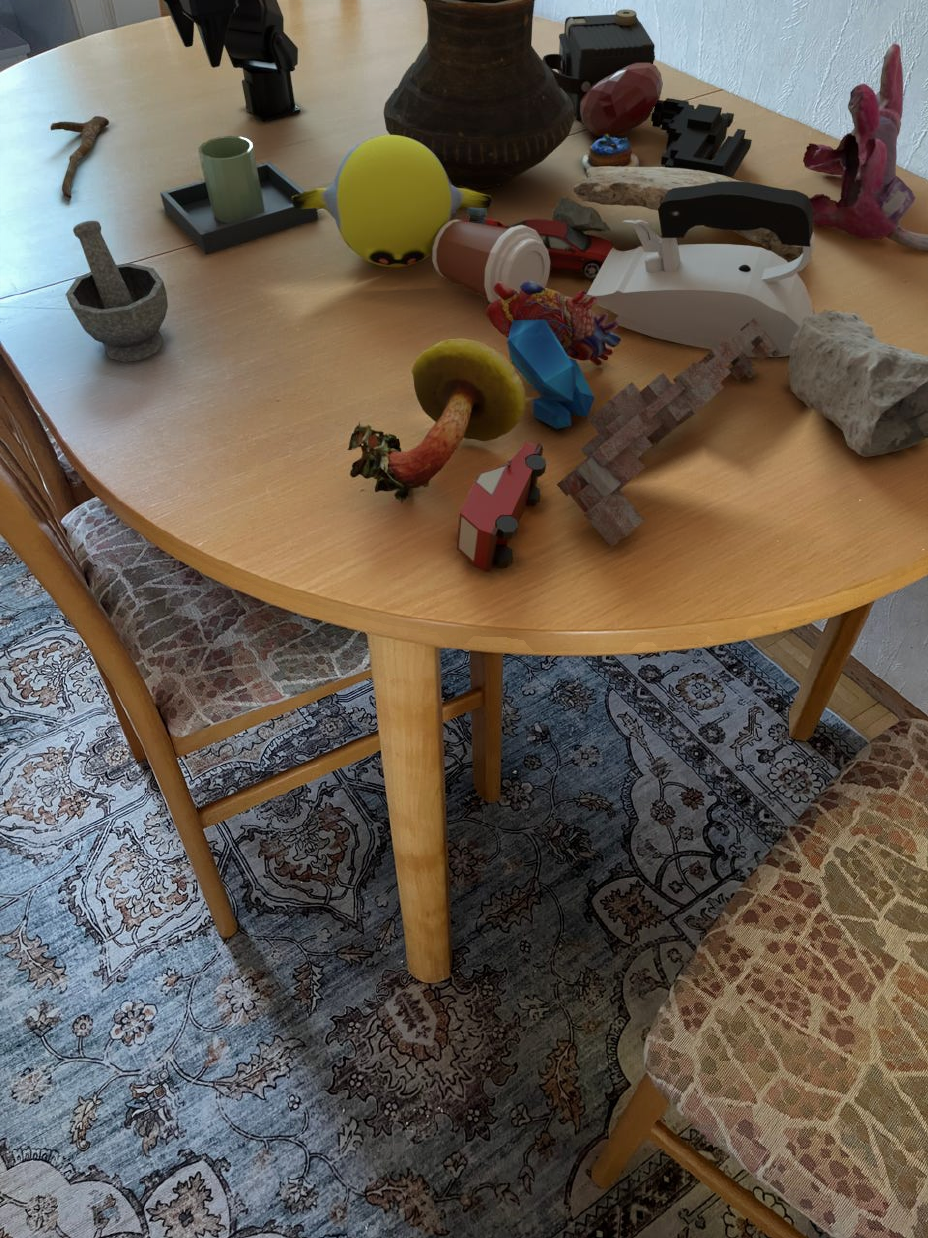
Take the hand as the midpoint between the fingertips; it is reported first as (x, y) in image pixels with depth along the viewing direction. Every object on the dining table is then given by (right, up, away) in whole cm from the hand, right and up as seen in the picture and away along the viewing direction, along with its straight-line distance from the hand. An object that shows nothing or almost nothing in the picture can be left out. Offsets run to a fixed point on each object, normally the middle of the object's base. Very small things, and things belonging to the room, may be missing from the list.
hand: (201, 56), depth 122 cm
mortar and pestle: (-1, -45, -22) cm, 50 cm away
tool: (+66, -13, +4) cm, 67 cm away
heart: (+56, -7, +3) cm, 57 cm away
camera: (+62, +8, +14) cm, 64 cm away
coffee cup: (+34, -33, -17) cm, 50 cm away
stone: (+46, -26, -15) cm, 55 cm away
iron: (+62, -43, -21) cm, 78 cm away
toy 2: (+78, -17, -12) cm, 81 cm away
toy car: (+46, -34, -14) cm, 58 cm away
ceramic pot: (+37, -15, +2) cm, 40 cm away
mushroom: (+31, -64, -45) cm, 84 cm away
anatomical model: (+39, -43, -36) cm, 68 cm away
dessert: (+56, -15, +4) cm, 58 cm away
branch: (-18, -10, +8) cm, 22 cm away
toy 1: (+26, -28, -9) cm, 39 cm away
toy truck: (+41, -66, -44) cm, 90 cm away
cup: (+6, -23, -4) cm, 24 cm away
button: (+37, -25, -13) cm, 47 cm away
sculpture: (+64, -48, -30) cm, 86 cm away
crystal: (+46, -56, -35) cm, 81 cm away
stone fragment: (+62, -20, -6) cm, 66 cm away
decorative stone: (+77, -55, -42) cm, 103 cm away
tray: (+6, -23, -4) cm, 24 cm away
